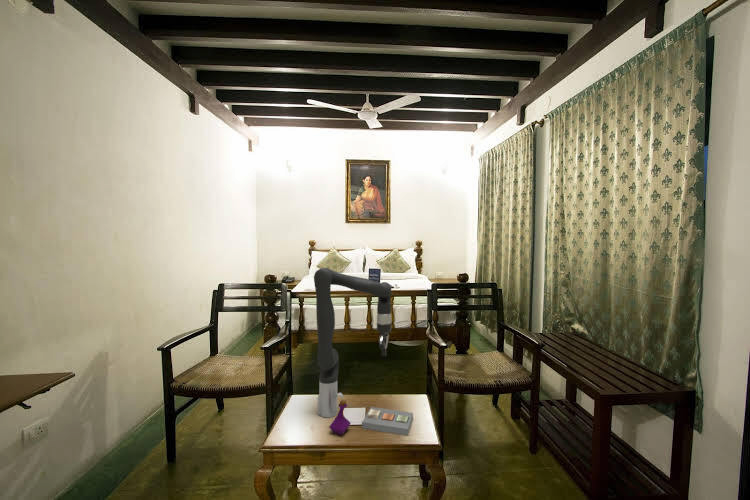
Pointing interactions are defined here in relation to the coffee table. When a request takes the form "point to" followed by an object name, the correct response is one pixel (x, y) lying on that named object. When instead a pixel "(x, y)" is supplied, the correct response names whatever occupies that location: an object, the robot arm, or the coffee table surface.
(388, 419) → the terracotta tile
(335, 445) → the coffee table surface
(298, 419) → the coffee table surface
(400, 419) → the sage tile
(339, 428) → the perfume bottle
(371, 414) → the cream tile
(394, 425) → the tile board
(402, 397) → the coffee table surface
